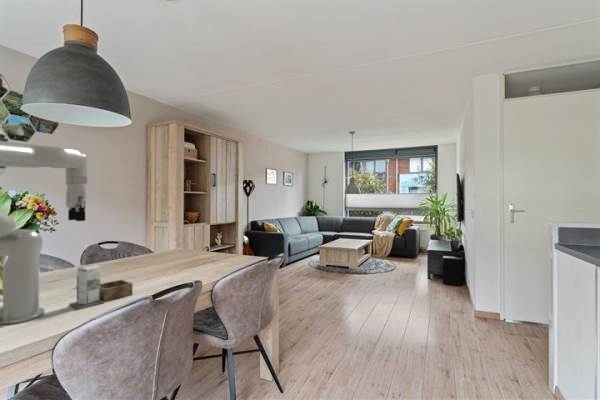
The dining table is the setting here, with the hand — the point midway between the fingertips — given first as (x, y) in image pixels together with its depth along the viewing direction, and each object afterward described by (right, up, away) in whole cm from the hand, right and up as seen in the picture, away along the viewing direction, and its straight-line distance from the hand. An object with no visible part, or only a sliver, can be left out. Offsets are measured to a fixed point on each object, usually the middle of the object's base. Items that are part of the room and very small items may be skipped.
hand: (76, 220), depth 129 cm
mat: (+11, -33, -10) cm, 37 cm away
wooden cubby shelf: (+16, -33, +1) cm, 37 cm away
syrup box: (+12, -33, -9) cm, 36 cm away
